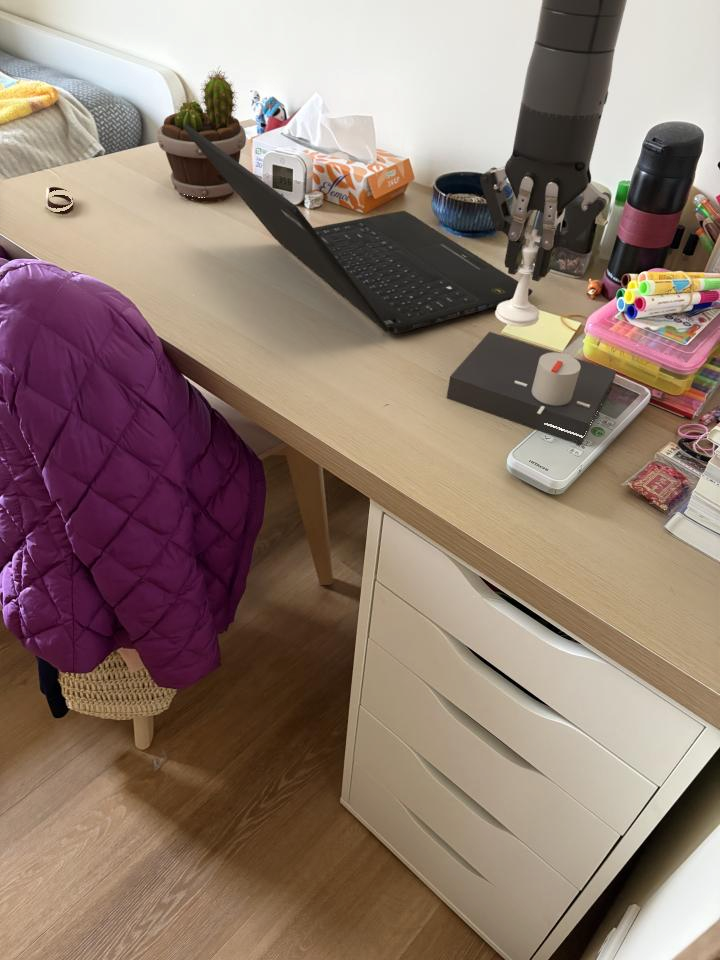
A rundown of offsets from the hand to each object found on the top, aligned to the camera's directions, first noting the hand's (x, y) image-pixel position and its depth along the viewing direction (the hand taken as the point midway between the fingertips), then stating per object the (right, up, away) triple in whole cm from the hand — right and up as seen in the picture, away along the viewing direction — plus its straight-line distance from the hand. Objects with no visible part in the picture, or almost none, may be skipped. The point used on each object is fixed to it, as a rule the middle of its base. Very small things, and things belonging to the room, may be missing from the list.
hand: (526, 274), depth 78 cm
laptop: (-18, +6, +26) cm, 33 cm away
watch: (-68, +22, +41) cm, 82 cm away
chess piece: (0, -4, +3) cm, 5 cm away
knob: (+3, -13, +1) cm, 13 cm away
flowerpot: (-45, +28, +49) cm, 72 cm away
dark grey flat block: (+2, -12, +6) cm, 14 cm away
